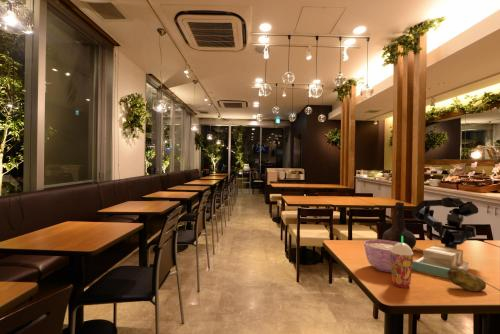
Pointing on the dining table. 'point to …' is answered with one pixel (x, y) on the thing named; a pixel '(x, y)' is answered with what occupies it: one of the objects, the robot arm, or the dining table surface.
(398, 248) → the smoothie
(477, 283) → the potato
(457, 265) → the metallic block
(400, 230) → the glass bottle
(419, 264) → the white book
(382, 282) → the dining table surface
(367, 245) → the bowl of food
